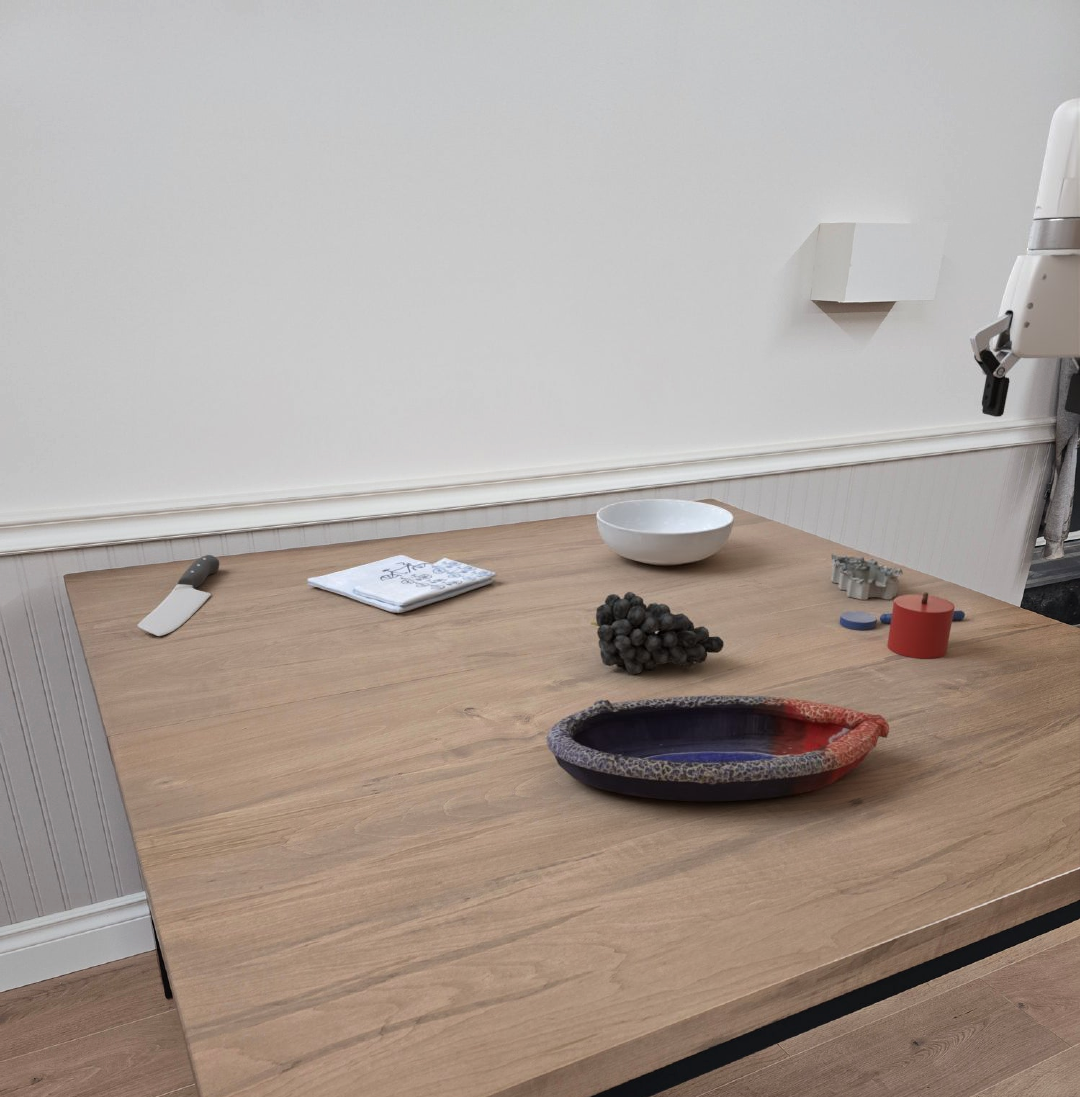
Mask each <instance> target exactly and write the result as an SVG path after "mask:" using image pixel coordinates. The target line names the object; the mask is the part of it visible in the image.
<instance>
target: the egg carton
mask: <svg viewBox="0 0 1080 1097" xmlns="http://www.w3.org/2000/svg"><path fill="white" fill-rule="evenodd" d="M831 561H832V568H831V575H830V581H831V583H833V584H838V589H839V590H840V591H846V596H847V597H848V598H852V599H858V600H862V601H864V600H865V601H867V600H868V598H880V599H883V600H892V599H893V598H896V596H897V594H898V590H899V586H900V581H899V579H898V577H899V576H902V575H904V573H903V570H902V568H900V567H894V568H893V567H892V566H891V567H890V566H887V565H883V564H879V563H878V560H876V559H874V558H871V559H870V560H869V561H868V560H865V558H864V556H861V557H856V556H847V555H844V556H837V555H834V554H833V553H831Z"/></svg>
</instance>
